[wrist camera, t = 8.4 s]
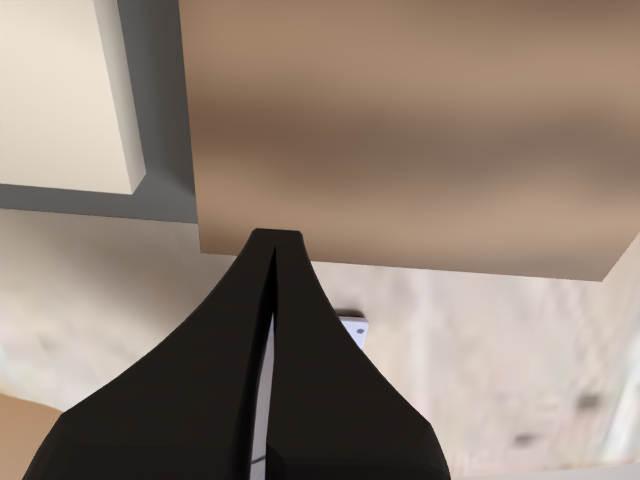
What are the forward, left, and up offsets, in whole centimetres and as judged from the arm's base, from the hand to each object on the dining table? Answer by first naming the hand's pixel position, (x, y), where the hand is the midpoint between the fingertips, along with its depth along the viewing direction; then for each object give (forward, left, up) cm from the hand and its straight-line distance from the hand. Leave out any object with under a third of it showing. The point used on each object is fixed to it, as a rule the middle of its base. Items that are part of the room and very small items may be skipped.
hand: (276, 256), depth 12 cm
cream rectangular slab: (+2, +10, -8) cm, 13 cm away
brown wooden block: (+1, -6, -9) cm, 11 cm away
